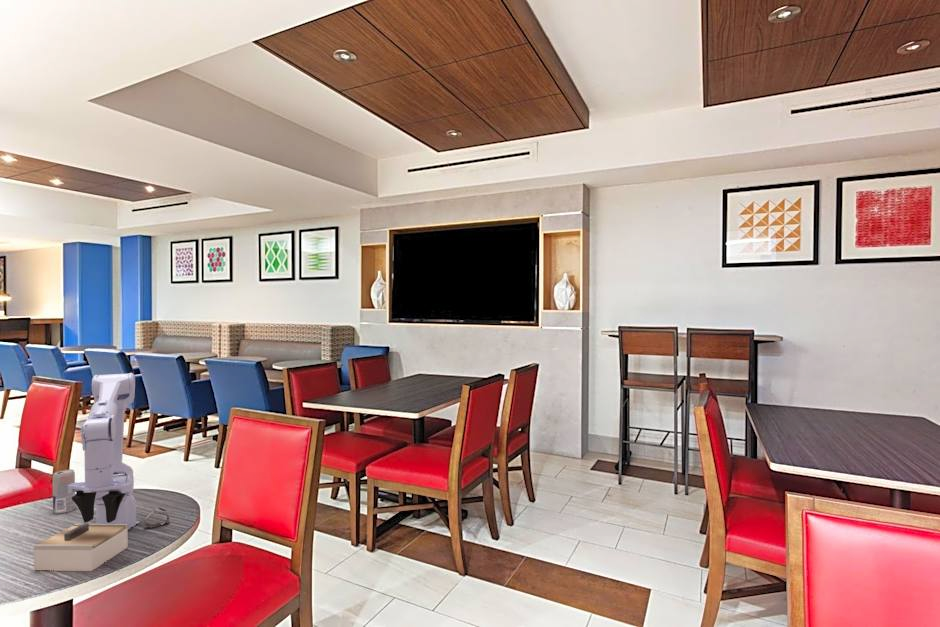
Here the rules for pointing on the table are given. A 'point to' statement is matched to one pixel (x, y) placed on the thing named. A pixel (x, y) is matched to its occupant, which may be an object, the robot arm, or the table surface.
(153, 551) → the table surface
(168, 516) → the wristwatch
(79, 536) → the lid
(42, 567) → the box
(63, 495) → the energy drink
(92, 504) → the robot arm
